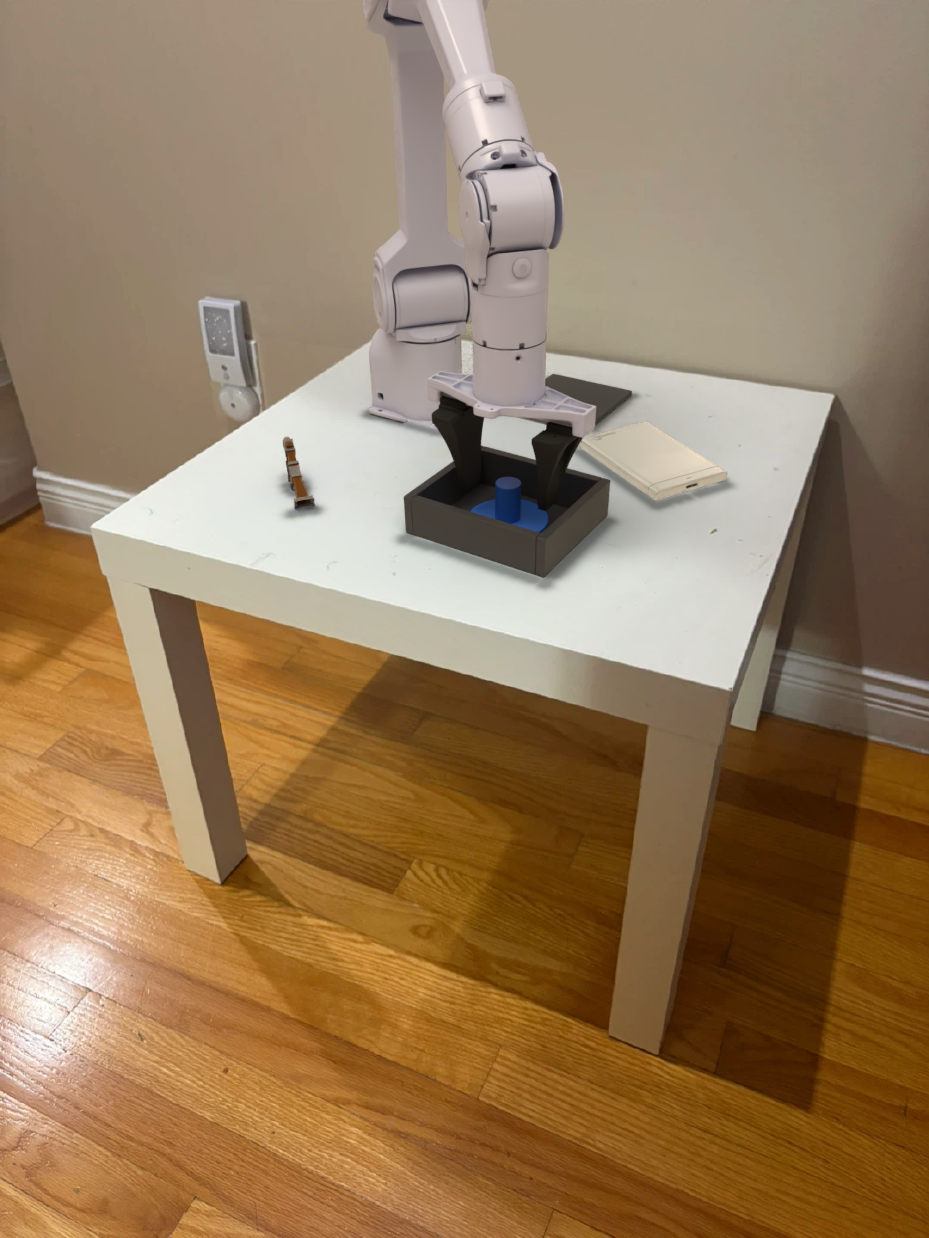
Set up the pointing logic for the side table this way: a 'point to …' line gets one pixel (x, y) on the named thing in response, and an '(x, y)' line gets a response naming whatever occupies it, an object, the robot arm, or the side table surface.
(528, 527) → the lid
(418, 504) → the tray
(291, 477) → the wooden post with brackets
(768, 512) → the side table surface
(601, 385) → the mat
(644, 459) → the hard drive
